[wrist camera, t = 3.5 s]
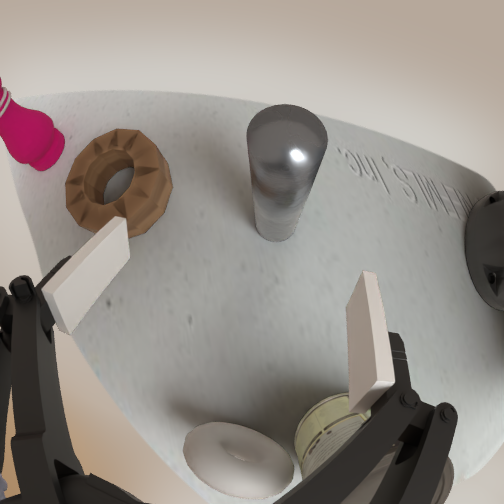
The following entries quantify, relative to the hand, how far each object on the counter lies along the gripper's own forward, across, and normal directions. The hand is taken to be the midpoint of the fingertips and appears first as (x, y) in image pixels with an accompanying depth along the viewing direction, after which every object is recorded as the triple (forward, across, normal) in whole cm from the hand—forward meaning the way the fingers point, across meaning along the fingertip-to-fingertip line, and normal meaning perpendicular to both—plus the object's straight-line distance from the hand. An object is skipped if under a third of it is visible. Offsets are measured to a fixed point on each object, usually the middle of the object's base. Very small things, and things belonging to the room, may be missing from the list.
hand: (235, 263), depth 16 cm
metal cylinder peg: (+14, +1, -5) cm, 15 cm away
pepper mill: (+17, -32, -2) cm, 36 cm away
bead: (+14, -16, -4) cm, 21 cm away
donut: (-1, +3, -20) cm, 21 cm away
